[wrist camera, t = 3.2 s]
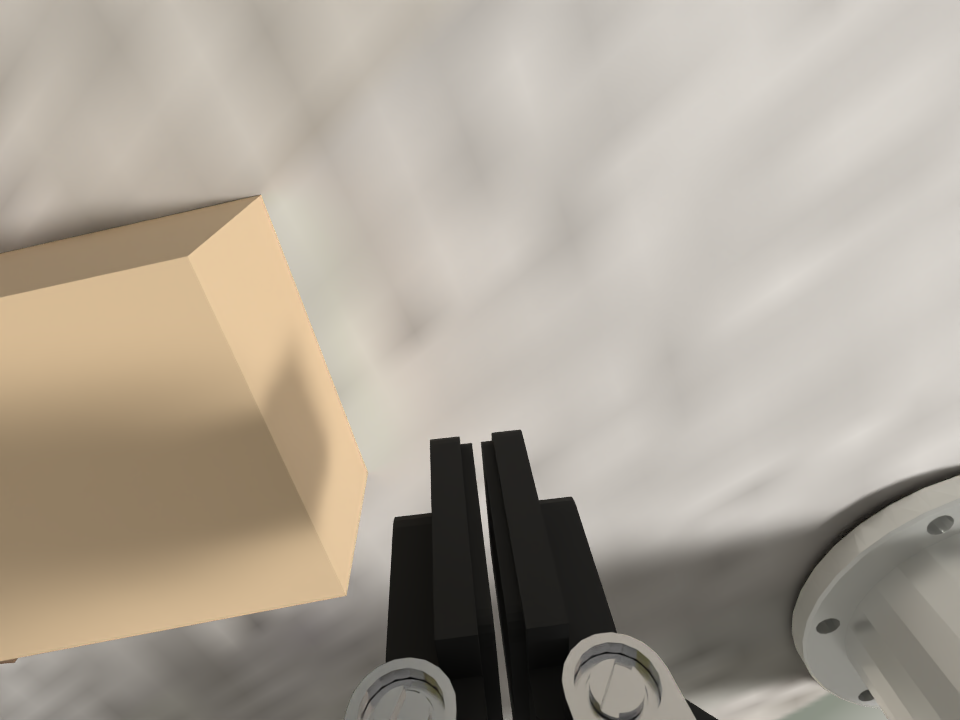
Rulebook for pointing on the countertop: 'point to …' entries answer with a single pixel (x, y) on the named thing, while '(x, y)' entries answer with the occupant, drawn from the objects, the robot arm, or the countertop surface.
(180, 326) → the kraft carton
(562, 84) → the countertop surface
